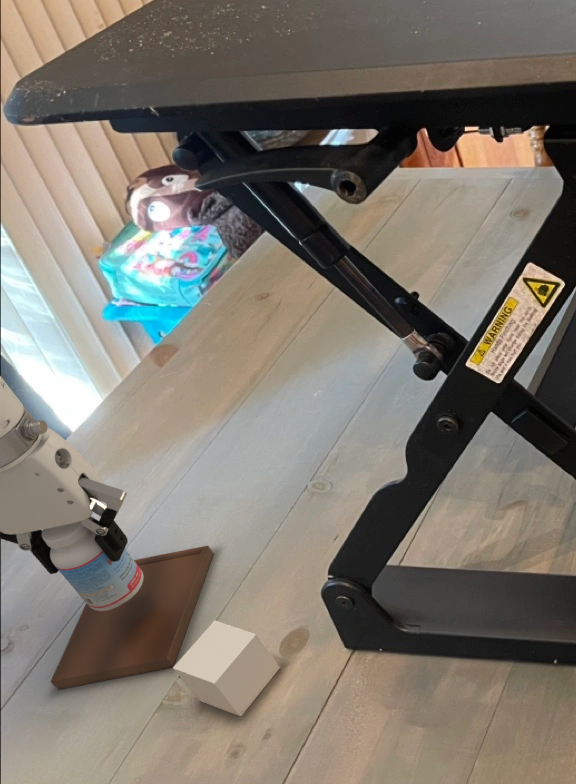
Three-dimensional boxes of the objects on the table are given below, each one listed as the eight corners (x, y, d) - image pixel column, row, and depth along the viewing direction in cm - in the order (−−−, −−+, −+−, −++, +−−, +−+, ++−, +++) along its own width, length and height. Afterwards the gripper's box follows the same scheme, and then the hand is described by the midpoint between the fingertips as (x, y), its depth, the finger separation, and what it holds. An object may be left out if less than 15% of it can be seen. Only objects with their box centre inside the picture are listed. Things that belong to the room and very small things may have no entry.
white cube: (239, 653, 115) (214, 619, 112) (280, 667, 113) (256, 633, 109) (199, 701, 111) (172, 667, 108) (240, 717, 109) (214, 683, 105)
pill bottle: (149, 592, 118) (97, 525, 111) (93, 622, 116) (36, 556, 109) (140, 559, 122) (89, 493, 115) (85, 588, 120) (30, 522, 113)
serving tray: (57, 689, 116) (49, 681, 115) (109, 573, 128) (102, 565, 127) (173, 667, 115) (166, 658, 114) (213, 553, 128) (208, 544, 127)
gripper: (93, 398, 107) (178, 516, 118) (-72, 431, 108) (27, 546, 118) (65, 449, 101) (156, 569, 112) (-110, 484, 102) (-2, 600, 112)
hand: (89, 556), depth 115 cm, fingers closed on pill bottle, 6 cm apart
